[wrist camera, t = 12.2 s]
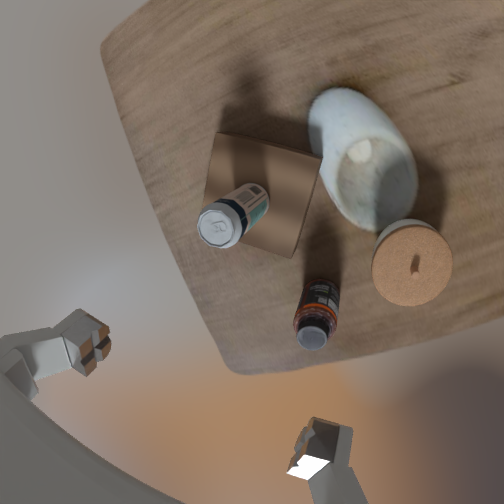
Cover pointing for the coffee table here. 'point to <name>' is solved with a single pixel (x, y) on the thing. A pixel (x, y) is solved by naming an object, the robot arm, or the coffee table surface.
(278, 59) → the coffee table surface
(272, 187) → the walnut block
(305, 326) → the supplement bottle
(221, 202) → the beer can
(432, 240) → the lidded jar
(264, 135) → the coffee table surface
